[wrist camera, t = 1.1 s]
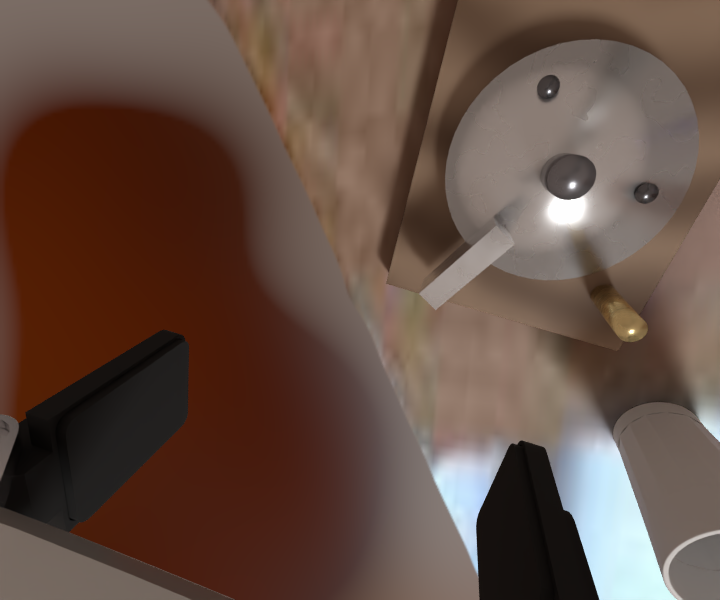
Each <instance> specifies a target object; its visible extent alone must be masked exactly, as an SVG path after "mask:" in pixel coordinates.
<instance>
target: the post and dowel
mask: <svg viewBox="0 0 720 600" xmlns="http://www.w3.org/2000/svg"><path fill="white" fill-rule="evenodd" d="M540 179H541V183H542V185H543V187H544V188H545V189H546V190H547V191H548V192H550V193H551V194H553V195H554V196H555V197H557V198H559V199H562V200H575V199H578V198H580V197H582V196H584V195H585V194H586V193H587V192H588V191H589V190H590V189H591V188H592V186H593V185H594V183H595V180H596V168H595V166H594V164H593V162H592V161H591V160H590V159H588V158H587V157H585V156H581V155H576V154H571V153H561V154H557V155H555V156H553V157H551V158H550V159H549V160H548V161H547V162H546V163H545V164H544V166H543V168H542V170H541V175H540ZM591 300H592V302H593V303H594V304H595V306H596V307H597V309H598V310H599V311H600V313H601V314H602V315H603V317H604V318H605V320H606V321H607V322H608V324H609V325H610V326H611V328H612V329H613V331H614V332H615V333H616V335H617V336H618V337H619V338H620V339H621V340H623V341H626V342H635V341H638V340H640V339H642V338H643V337H644V336H645V335H646V334H647V331H648V326H647V323H646V322H645V321H644V320H643V319H642V318H641V317H640V316H639V315H638V314H637V312H636V311H635V310H634V309H633V308H632V307H631V306H630V305H629V304H628V303H627V302H626V301H625V300H624V299H623V297H622V296H621V295H620V294H619V293H618V292H617V291H616V290H615V289H614V288H613V287H612V286H610V285H600V286H597V287H596V288H594V289H593V291H592V292H591Z"/></svg>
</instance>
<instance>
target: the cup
mask: <svg viewBox="0 0 720 600" xmlns="http://www.w3.org/2000/svg"><path fill="white" fill-rule="evenodd" d="M613 437H614V441H615V443H616V445H617V447H618V449H619V452H620V454H621V457H622V460H623V463H624V466H625V469H626V471H627V474H628V477H629V480H630V483H631V486H632V489H633V491H634V494H635V497H636V500H637V503H638V506H639V509H640V511H641V514H642V517H643V520H644V523H645V526H646V529H647V531H648V535H649V538H650V541H651V544H652V547H653V550H654V553H655V556H656V559H657V562H658V565H659V568H660V571H661V574H662V577H663V580H664V583H665V585H666V587H667V588H668V590H669V591H670V593H671V594H672V595H673V596H674V597H675V598H676V599H677V600H720V442H719V441H718V440H717V439H716V438H715V437H714V436H713V435H712V434H711V433H710V432H709V431H708V430H707V429H706V428H705V427H704V425H703V424H702V423H701V422H700V420H699V419H698V418H697V417H696V416H695V415H694V414H693V413H692V412H691V411H689V410H688V409H686V408H684V407H682V406H679V405H676V404H672V403H666V402H652V403H646V404H642V405H639V406H636V407H634V408H632V409H630V410H628V411H626V412H625V413H624V414H623V415H622V416H621V417H620V418H619V419H618V420H617V422H616V424H615V426H614V430H613Z"/></svg>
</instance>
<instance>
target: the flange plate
mask: <svg viewBox="0 0 720 600" xmlns="http://www.w3.org/2000/svg"><path fill="white" fill-rule="evenodd" d="M698 149H699V131H698V122H697V116H696V113H695V109H694V106H693V103H692V100H691V98H690V96H689V94H688V92H687V90H686V88H685V86H684V85H683V84H682V82H681V81H680V80H679V78H678V77H677V75H676V74H675V73H674V72H673V71H672V70H671V69H670V68H669V67H668V66H667V65H666V64H664V63H663V62H662V61H661V60H659V59H658V58H656V57H655V56H653V55H652V54H650V53H648V52H646V51H644V50H642V49H639V48H637V47H635V46H632V45H629V44H625V43H621V42H617V41H610V40H600V39H591V40H576V41H571V42H565V43H560V44H557V45H554V46H550V47H547V48H544V49H541V50H539V51H537V52H535V53H533V54H530V55H528V56H526V57H524V58H523V59H521V60H519V61H518V62H516V63H514V64H513V65H511V66H509V67H508V68H507V69H506V70H504V71H503V72H502V73H500V74H499V75H498V76H497V77H495V78H494V79H493V80H492V81H491V82H490V83H489V84H488V85H487V86H486V87H485V88H484V89H483V90H482V91H481V92H480V94H479V95H478V96H477V97H476V99H475V100H474V101H473V102H472V103H471V105H470V107H469V108H468V110H467V111H466V113H465V114H464V116H463V117H462V119H461V121H460V123H459V125H458V127H457V130H456V132H455V134H454V137H453V140H452V143H451V145H450V149H449V153H448V158H447V162H446V173H445V189H446V197H447V203H448V207H449V210H450V213H451V216H452V219H453V221H454V223H455V225H456V227H457V230H458V231H459V233H460V234H461V236H462V237H463V239H464V240H465V241H466V242H464V243H463V244H462V245H461V246H460V247H459V248H458V249H457V250H456V251H454V252H453V253H452V254H451V255H450V256H449V257H448V258H447V259H445V260H444V261H443V262H442V263H441V264H440V265H439V266H438V267H437V268H435V269H434V270H433V271H432V272H431V273H430V274H429V275H428V276H426V277H425V278H424V280H423V283H422V286H421V289H420V292H419V294H420V295H421V296H422V297H423V298H424V299H425V300H426V301H427V302H428V303H429V304H430V305H431V306H432V307H433V308H434V309H435V310H436V309H437V308H438V307H440V306H441V305H442V304H443V303H445V302H446V301H447V300H448V299H449V298H451V297H452V296H453V295H454V294H455V293H457V292H458V291H459V290H460V289H461V288H463V287H464V286H465V285H466V284H467V283H469V282H470V281H471V280H472V279H473V278H475V277H476V276H477V275H478V274H480V273H481V272H482V271H483V270H484V269H486V268H487V267H488V266H489V265H490V264H492V265H493V266H495V267H497V268H499V269H501V270H503V271H505V272H508V273H511V274H514V275H517V276H520V277H525V278H530V279H538V280H564V279H571V278H577V277H582V276H586V275H590V274H593V273H596V272H598V271H601V270H604V269H607V268H609V267H611V266H613V265H615V264H617V263H619V262H621V261H623V260H624V259H626V258H627V257H629V256H631V255H632V254H634V253H635V252H637V251H638V250H639V249H641V248H642V247H643V246H644V245H646V244H647V243H648V242H649V241H650V240H651V239H652V238H653V237H655V236H656V235H657V234H658V233H659V232H660V231H661V230H662V228H663V227H664V226H665V225H666V224H667V222H668V221H669V220H670V219H671V218H672V216H673V215H674V213H675V212H676V210H677V209H678V207H679V205H680V204H681V202H682V201H683V198H684V196H685V194H686V192H687V190H688V188H689V186H690V183H691V180H692V177H693V174H694V171H695V168H696V162H697V157H698ZM561 153H571V154H576V155H581V156H585V157H587V158H588V159H590V160H591V161H592V162H593V164H594V166H595V168H596V180H595V183H594V185H593V186H592V188H591V189H590V190H589V191H588V192H587V193H586V194H585V195H584V196H582V197H580V198H578V199H575V200H562V199H559V198H557V197H555V196H554V195H553V194H551V193H550V192H548V191H547V190H546V189H545V188H544V187H543V185H542V183H541V179H540V175H541V170H542V168H543V166H544V164H545V163H546V162H547V161H548V160H549V159H550V158H551V157H553V156H555V155H557V154H561Z"/></svg>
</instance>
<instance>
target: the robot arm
mask: <svg viewBox="0 0 720 600" xmlns="http://www.w3.org/2000/svg"><path fill="white" fill-rule="evenodd" d="M188 362H189V345H188V343H187V342H186V341H185V338H184V336H183V335H180V334H177V333H174V332H171V331H167V330H162V331H159V332H158V333H156V334H154V335H153V336H151V337H149V338H148V339H146V340H144V341H143V342H141V343H139V344H138V345H136V346H134V347H133V348H131V349H130V350H128V351H126V352H125V353H123V354H121V355H120V356H118V357H116V358H115V359H113V360H111V361H110V362H108V363H106V364H105V365H103V366H101V367H100V368H98V369H96V370H95V371H93V372H92V373H90V374H88V375H87V376H85V377H83V378H82V379H80V380H78V381H77V382H75V383H73V384H72V385H70V386H68V387H67V388H65V389H64V390H62V391H60V392H58V393H57V394H55V395H53V396H52V397H50V398H48V399H47V400H45V401H44V402H42V403H41V404H39V405H37V406H35V407H34V408H32V409H31V410H29V411H27V412H26V419H24V420H23V421H21V422H20V423H18V422H17V421H16V420H15V419H14V418H12V417H10V416H7V415H0V600H234V599H231V598H229V597H227V596H224V595H222V594H219V593H217V592H215V591H212V590H210V589H207V588H205V587H202V586H200V585H197V584H195V583H193V582H190V581H188V580H185V579H183V578H180V577H178V576H176V575H173V574H171V573H168V572H166V571H163V570H161V569H158V568H156V567H153V566H151V565H148V564H146V563H144V562H141V561H139V560H136V559H134V558H131V557H128V556H126V555H124V554H121V553H119V552H116V551H113V550H111V549H109V548H106V547H104V546H101V545H99V544H96V543H94V542H91V541H89V540H86V539H84V538H81V537H79V536H76V535H74V534H71V533H69V531H71V529H73V527H74V526H75V525H76V524H78V523H79V522H84V521H86V520H88V519H89V518H90V517H91V516H92V515H93V514H94V513H95V512H96V511H97V510H98V509H99V508H100V507H101V506H102V505H103V504H104V503H105V502H106V501H107V500H108V499H109V498H110V497H111V496H112V495H113V494H114V493H115V492H116V491H117V490H118V489H119V488H120V487H121V486H122V485H123V484H124V483H125V482H126V481H127V480H128V479H129V478H130V477H131V476H132V475H133V474H134V473H135V472H136V471H137V470H138V469H139V468H140V467H141V466H142V465H143V464H144V463H145V462H146V461H147V460H148V459H149V458H150V457H151V456H152V455H153V454H154V453H155V452H156V451H157V450H158V449H159V448H160V447H161V446H162V445H163V444H164V443H165V442H166V441H167V440H168V439H169V438H170V437H171V436H172V435H173V434H174V433H175V432H176V431H177V430H178V429H179V428H180V427H181V426H182V425H183V424H184V422H185V420H186V418H187V414H188V367H189V366H188V365H189V363H188ZM476 534H477V555H478V576H479V597H480V600H599V597H598V594H597V591H596V588H595V585H594V581H593V578H592V575H591V572H590V569H589V565H588V562H587V559H586V556H585V553H584V549H583V546H582V543H581V540H580V537H579V533H578V530H577V527H576V524H575V521H574V519H573V517H572V515H571V514H570V513H569V512H568V511H565V510H563V507H562V503H561V500H560V497H559V493H558V490H557V486H556V483H555V479H554V476H553V473H552V469H551V466H550V462H549V459H548V455H547V452H546V450H545V448H544V447H541V446H538V445H535V444H532V443H528V442H525V441H520V442H519V443H518V444H517V445H516V444H511V445H510V446H509V448H508V450H507V452H506V455H505V457H504V459H503V461H502V463H501V466H500V468H499V470H498V472H497V474H496V477H495V479H494V481H493V483H492V485H491V487H490V490H489V492H488V494H487V496H486V498H485V501H484V503H483V505H482V507H481V509H480V512H479V514H478V518H477V524H476Z"/></svg>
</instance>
